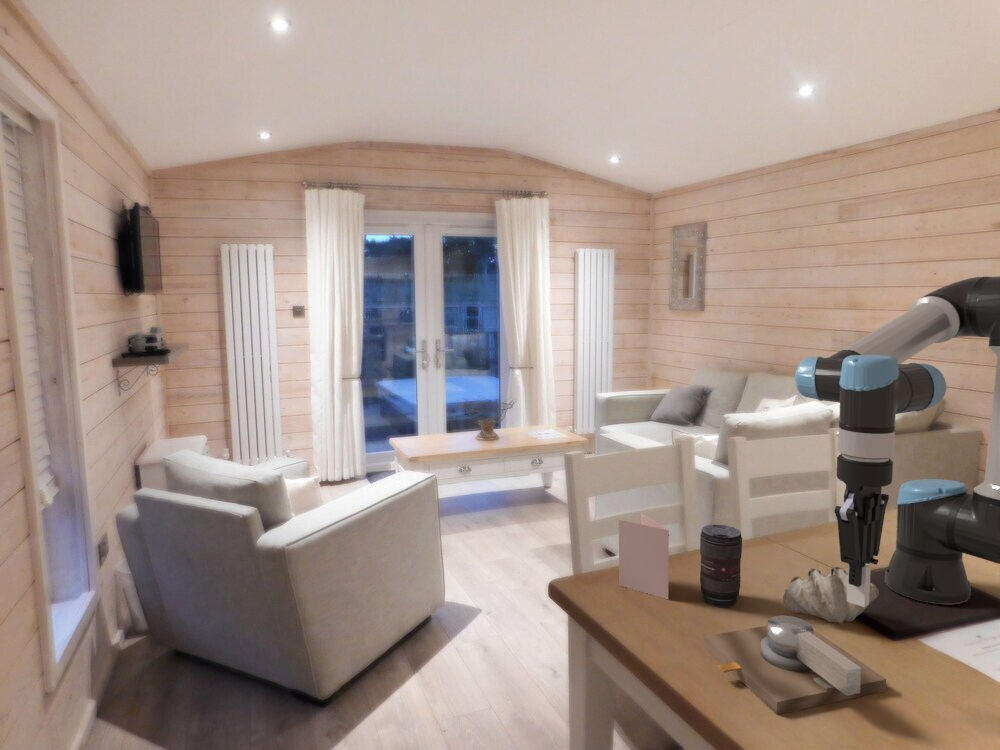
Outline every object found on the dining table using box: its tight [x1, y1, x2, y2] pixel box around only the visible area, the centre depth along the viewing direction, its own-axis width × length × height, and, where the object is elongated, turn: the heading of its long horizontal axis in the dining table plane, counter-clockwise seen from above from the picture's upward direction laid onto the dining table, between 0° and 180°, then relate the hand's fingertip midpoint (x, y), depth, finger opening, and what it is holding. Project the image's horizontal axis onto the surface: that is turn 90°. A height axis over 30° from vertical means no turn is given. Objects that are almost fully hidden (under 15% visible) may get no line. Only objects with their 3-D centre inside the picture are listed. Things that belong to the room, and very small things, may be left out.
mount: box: [703, 624, 887, 715], centre depth 111 cm, size 23×20×4 cm
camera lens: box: [699, 524, 743, 608], centre depth 136 cm, size 8×8×15 cm
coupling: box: [767, 615, 861, 696], centre depth 106 cm, size 18×7×4 cm, turn 15°
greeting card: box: [618, 512, 670, 600], centre depth 141 cm, size 11×7×15 cm, turn 17°
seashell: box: [782, 565, 880, 625], centre depth 128 cm, size 10×15×10 cm
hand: (857, 602), depth 104 cm, fingers closed
